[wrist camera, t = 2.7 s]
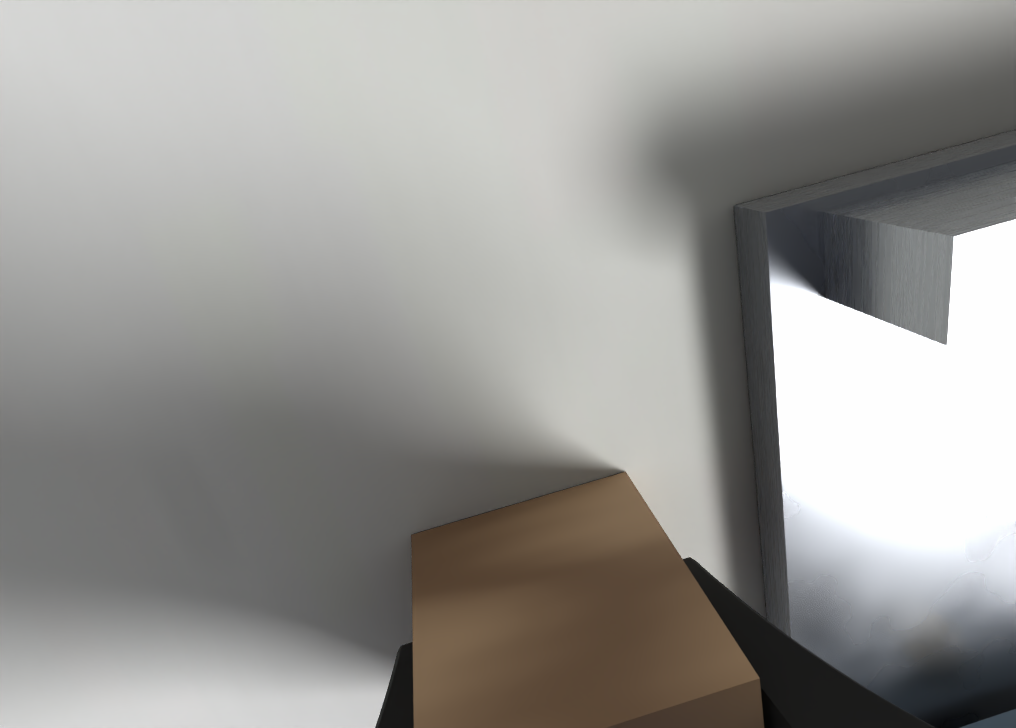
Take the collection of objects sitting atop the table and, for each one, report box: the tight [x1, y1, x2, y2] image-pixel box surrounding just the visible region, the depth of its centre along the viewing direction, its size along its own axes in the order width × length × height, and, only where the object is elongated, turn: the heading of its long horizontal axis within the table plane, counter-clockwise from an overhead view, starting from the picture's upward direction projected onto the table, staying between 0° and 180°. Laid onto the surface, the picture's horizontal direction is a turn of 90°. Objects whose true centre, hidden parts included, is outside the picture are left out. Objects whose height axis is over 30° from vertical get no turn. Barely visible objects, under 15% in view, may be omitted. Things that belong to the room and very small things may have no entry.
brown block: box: [411, 472, 764, 728], centre depth 11 cm, size 4×4×5 cm
